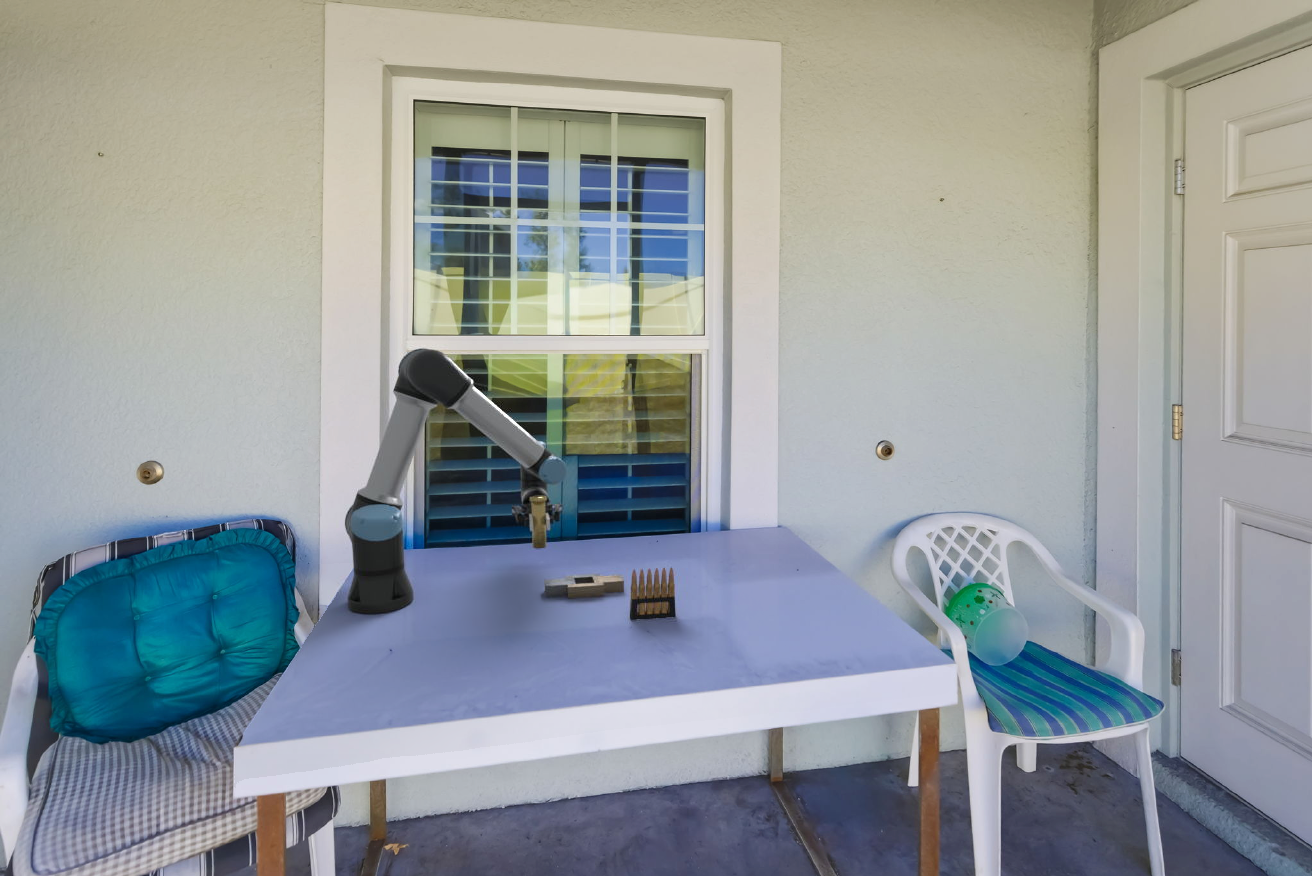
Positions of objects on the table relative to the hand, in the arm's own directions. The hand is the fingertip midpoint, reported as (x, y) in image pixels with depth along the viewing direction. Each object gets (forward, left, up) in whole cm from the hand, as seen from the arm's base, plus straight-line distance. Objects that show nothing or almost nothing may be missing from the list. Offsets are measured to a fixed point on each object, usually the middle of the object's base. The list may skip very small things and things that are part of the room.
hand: (540, 525), depth 170 cm
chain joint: (+11, +6, -20) cm, 23 cm away
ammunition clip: (+25, -14, -20) cm, 35 cm away
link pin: (0, +5, -7) cm, 9 cm away
